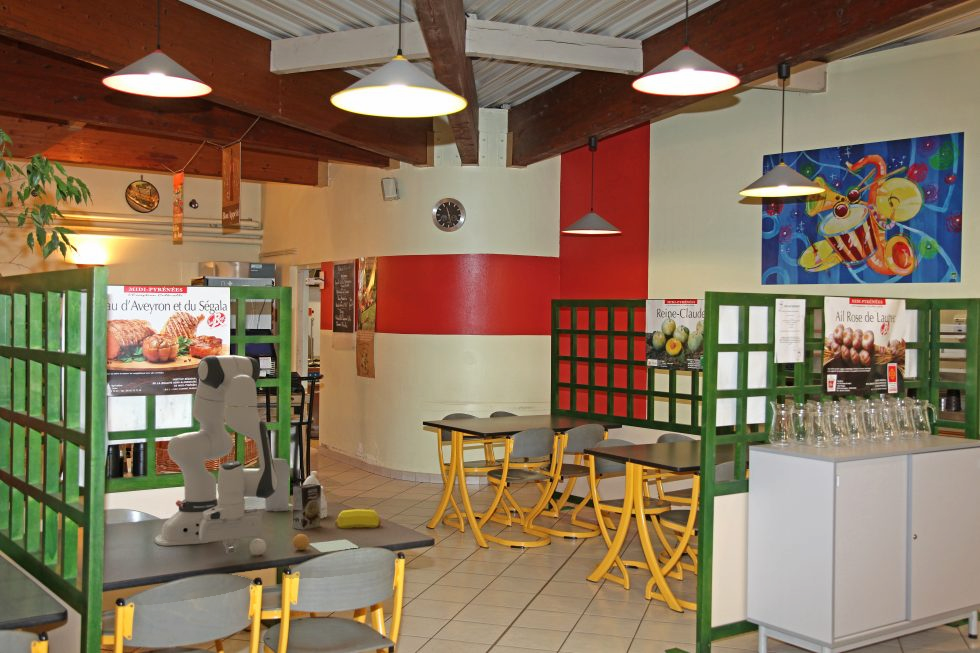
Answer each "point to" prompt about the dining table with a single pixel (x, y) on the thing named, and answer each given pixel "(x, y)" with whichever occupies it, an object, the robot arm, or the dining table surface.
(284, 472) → the tall pale column
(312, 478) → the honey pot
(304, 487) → the coffee box
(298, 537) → the object ball
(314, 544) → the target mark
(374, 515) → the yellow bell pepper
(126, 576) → the dining table surface
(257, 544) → the cue ball
